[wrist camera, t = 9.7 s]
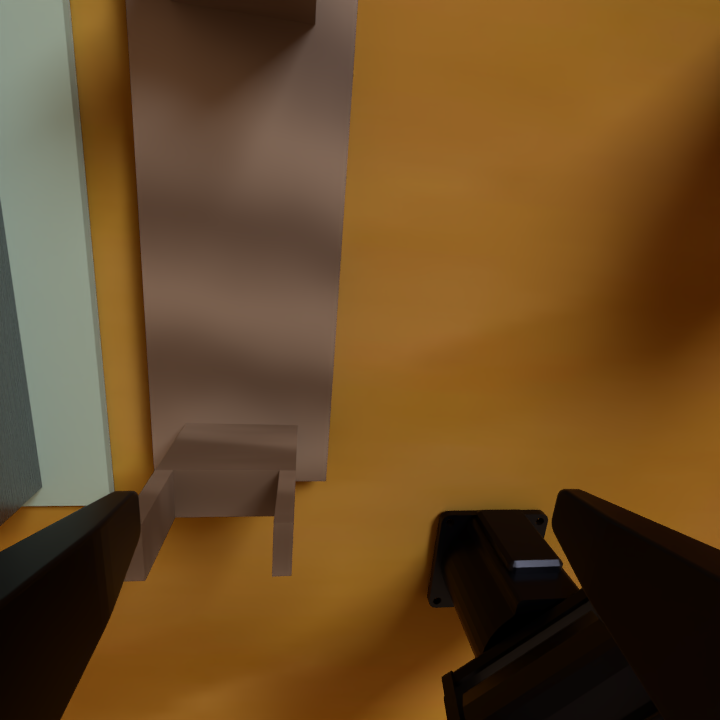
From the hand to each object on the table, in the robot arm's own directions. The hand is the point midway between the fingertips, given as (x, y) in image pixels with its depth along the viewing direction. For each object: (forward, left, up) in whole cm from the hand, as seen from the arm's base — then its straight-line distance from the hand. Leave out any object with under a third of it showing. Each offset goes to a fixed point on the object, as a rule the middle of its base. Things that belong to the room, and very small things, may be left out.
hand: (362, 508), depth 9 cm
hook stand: (+5, +4, -12) cm, 13 cm away
